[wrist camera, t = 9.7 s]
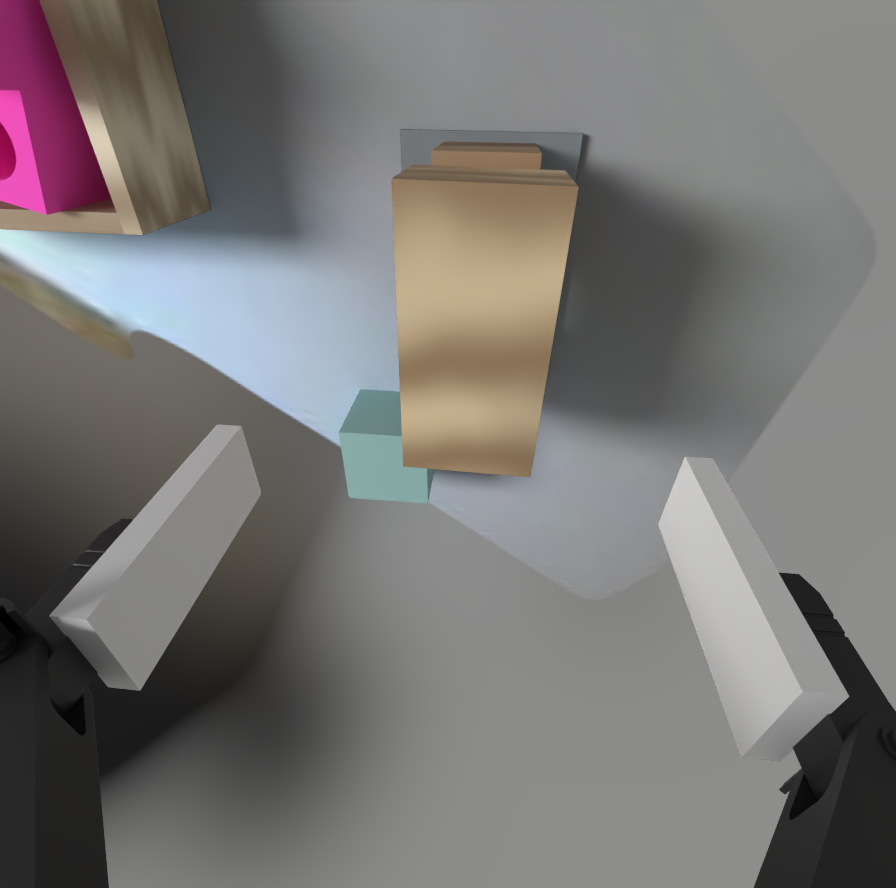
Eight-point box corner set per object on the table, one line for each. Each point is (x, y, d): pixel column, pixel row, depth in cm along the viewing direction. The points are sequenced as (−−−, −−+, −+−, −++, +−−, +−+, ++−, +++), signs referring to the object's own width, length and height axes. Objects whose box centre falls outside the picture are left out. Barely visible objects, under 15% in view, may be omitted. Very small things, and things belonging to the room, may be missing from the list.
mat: (401, 129, 27) (400, 129, 26) (582, 133, 26) (583, 133, 25) (410, 381, 36) (409, 383, 36) (543, 389, 35) (543, 391, 35)
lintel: (412, 164, 22) (391, 178, 18) (565, 170, 21) (578, 186, 17) (416, 417, 30) (403, 466, 26) (527, 426, 30) (530, 477, 26)
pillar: (444, 141, 26) (431, 150, 22) (535, 143, 26) (542, 153, 21) (444, 237, 29) (431, 264, 24) (525, 239, 29) (529, 267, 24)
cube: (360, 388, 37) (338, 432, 32) (436, 393, 37) (426, 437, 32) (367, 450, 40) (348, 497, 36) (437, 454, 40) (427, 503, 35)
